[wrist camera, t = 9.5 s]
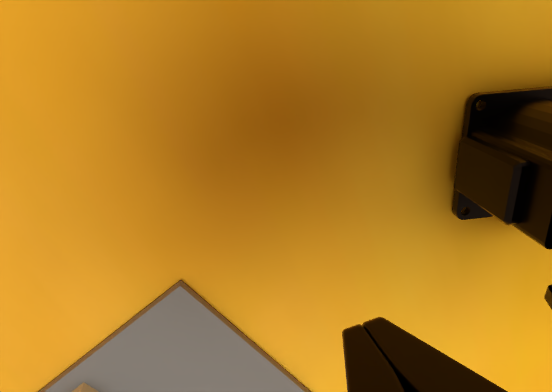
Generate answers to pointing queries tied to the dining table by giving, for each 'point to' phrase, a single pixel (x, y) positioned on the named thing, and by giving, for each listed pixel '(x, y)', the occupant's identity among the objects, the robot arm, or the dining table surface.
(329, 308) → the dining table surface
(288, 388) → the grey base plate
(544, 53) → the dining table surface
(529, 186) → the robot arm
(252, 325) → the dining table surface
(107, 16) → the dining table surface
